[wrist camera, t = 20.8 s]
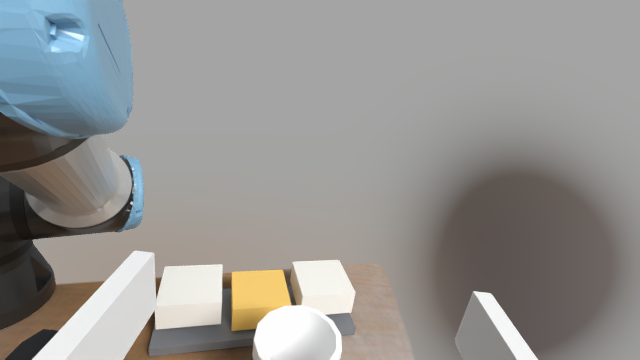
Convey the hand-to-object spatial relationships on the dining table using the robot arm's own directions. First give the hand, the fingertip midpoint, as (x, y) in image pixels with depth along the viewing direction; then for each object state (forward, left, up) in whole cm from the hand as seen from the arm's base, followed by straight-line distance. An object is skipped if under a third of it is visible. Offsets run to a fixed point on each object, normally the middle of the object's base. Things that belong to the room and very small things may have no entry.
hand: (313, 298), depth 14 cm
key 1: (-13, +31, -28) cm, 44 cm away
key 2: (-27, +17, -29) cm, 43 cm away
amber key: (-20, +24, -30) cm, 44 cm away
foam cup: (-7, +14, -32) cm, 36 cm away
